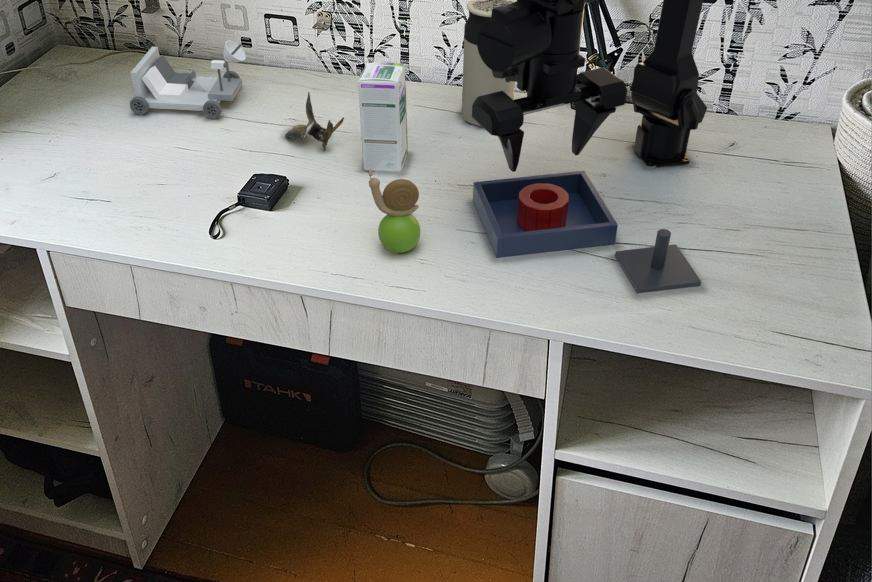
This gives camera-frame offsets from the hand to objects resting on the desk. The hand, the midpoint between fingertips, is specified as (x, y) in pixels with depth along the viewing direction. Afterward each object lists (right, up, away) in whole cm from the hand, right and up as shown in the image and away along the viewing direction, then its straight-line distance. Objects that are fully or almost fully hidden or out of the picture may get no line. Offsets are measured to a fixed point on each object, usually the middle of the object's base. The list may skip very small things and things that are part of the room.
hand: (544, 161), depth 120 cm
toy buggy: (-51, +17, +36) cm, 65 cm away
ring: (+1, -7, +5) cm, 9 cm away
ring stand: (+13, -14, -3) cm, 20 cm away
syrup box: (-20, +3, +19) cm, 28 cm away
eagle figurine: (-31, +8, +25) cm, 41 cm away
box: (+1, -7, +5) cm, 9 cm away
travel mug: (-4, +13, +29) cm, 32 cm away
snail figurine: (-19, -11, +2) cm, 22 cm away
